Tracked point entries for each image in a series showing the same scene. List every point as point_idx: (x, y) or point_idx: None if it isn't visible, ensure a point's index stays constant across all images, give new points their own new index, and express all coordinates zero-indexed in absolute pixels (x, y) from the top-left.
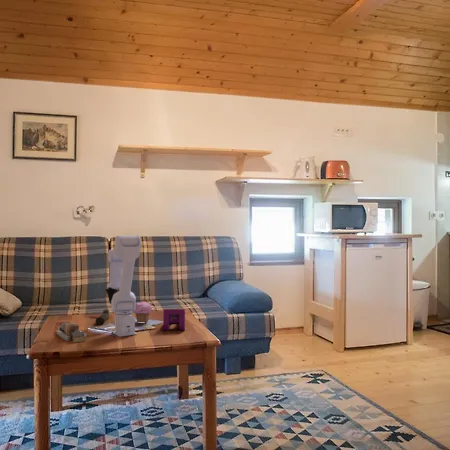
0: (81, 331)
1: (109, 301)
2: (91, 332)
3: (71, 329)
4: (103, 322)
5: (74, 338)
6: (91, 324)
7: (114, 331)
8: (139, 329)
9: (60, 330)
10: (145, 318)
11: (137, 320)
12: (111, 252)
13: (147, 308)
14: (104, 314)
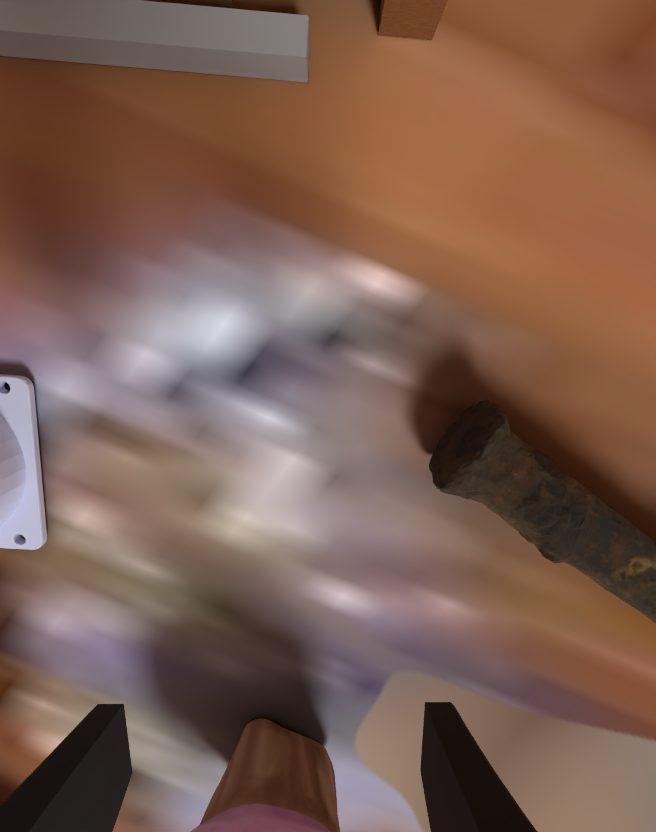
0: (84, 32)
1: (463, 738)
2: (168, 213)
3: None
4: (430, 469)
5: None
6: (533, 373)
7: (9, 402)
8: (38, 631)
9: None
10: (207, 808)
11: (251, 737)
12: None
13: None
14: (624, 577)
